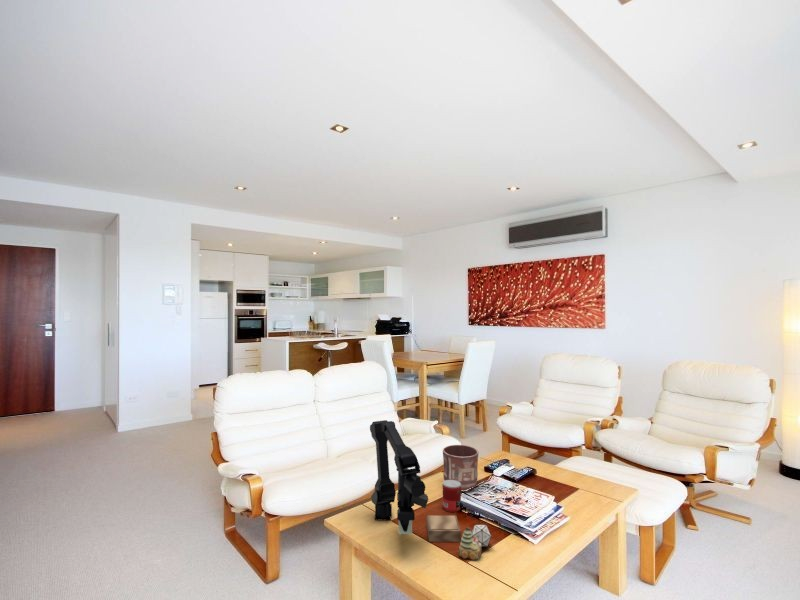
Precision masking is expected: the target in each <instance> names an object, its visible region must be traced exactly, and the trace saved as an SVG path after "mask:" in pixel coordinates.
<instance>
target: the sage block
mask: <svg viewBox="0 0 800 600" xmlns="http://www.w3.org/2000/svg"><path fill="white" fill-rule="evenodd" d="M398 535H413V520H410V521H409V525H408V529H407V532H404V530H403V528H402V525H401V523H400V521H399V520H398Z"/></svg>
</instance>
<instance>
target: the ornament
mask: <svg viewBox="0 0 800 600" xmlns="http://www.w3.org/2000/svg"><path fill="white" fill-rule="evenodd" d="M471 532H472V530H471V528H470V527H469V526H467V527H465V530H463V533H462V536H461V542H459V543H460V544H459V547H458V556H459V558H460V557H461V558H462V559H470V560H471V561H477V560H479V558H481V553H482V547H481V543H479V542H478V539H477V538H473V537H472V534H471Z"/></svg>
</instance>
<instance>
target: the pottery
mask: <svg viewBox="0 0 800 600" xmlns="http://www.w3.org/2000/svg"><path fill="white" fill-rule="evenodd" d="M442 459H443V461H442V462H443V469H442V470H443V474H442V475H443V482H444V481H445V480H456V481H458V482H460V483H461V490H465V489H469V488H472V487H473V488H475V487H476V484H477V483H478V476H479V475H478V474H479V473H478V467H479V466H478V464H479V463H478V462H479V451H478V449H476V448H474V447H472V446H470V445H466V444H465V445H464V444H452V445H448V446H445V447H443V449H442ZM474 486H475V487H474ZM473 488H472V489H473Z"/></svg>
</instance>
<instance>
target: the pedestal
mask: <svg viewBox="0 0 800 600" xmlns="http://www.w3.org/2000/svg"><path fill="white" fill-rule="evenodd" d="M426 531H427V537H428V538H427V539H428V542H434V543H437V542H438V543H441V542H443V543H444V542H445V543H447V542H448V543H449V542H450V543H452V542H455V543H461V541H462V540H461V538H462V536H461V535H462V533H461V531H462V530H461V527H460V524H459V520H458V517H457V515H432V514H431V515H428V514H427V515H426Z"/></svg>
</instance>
